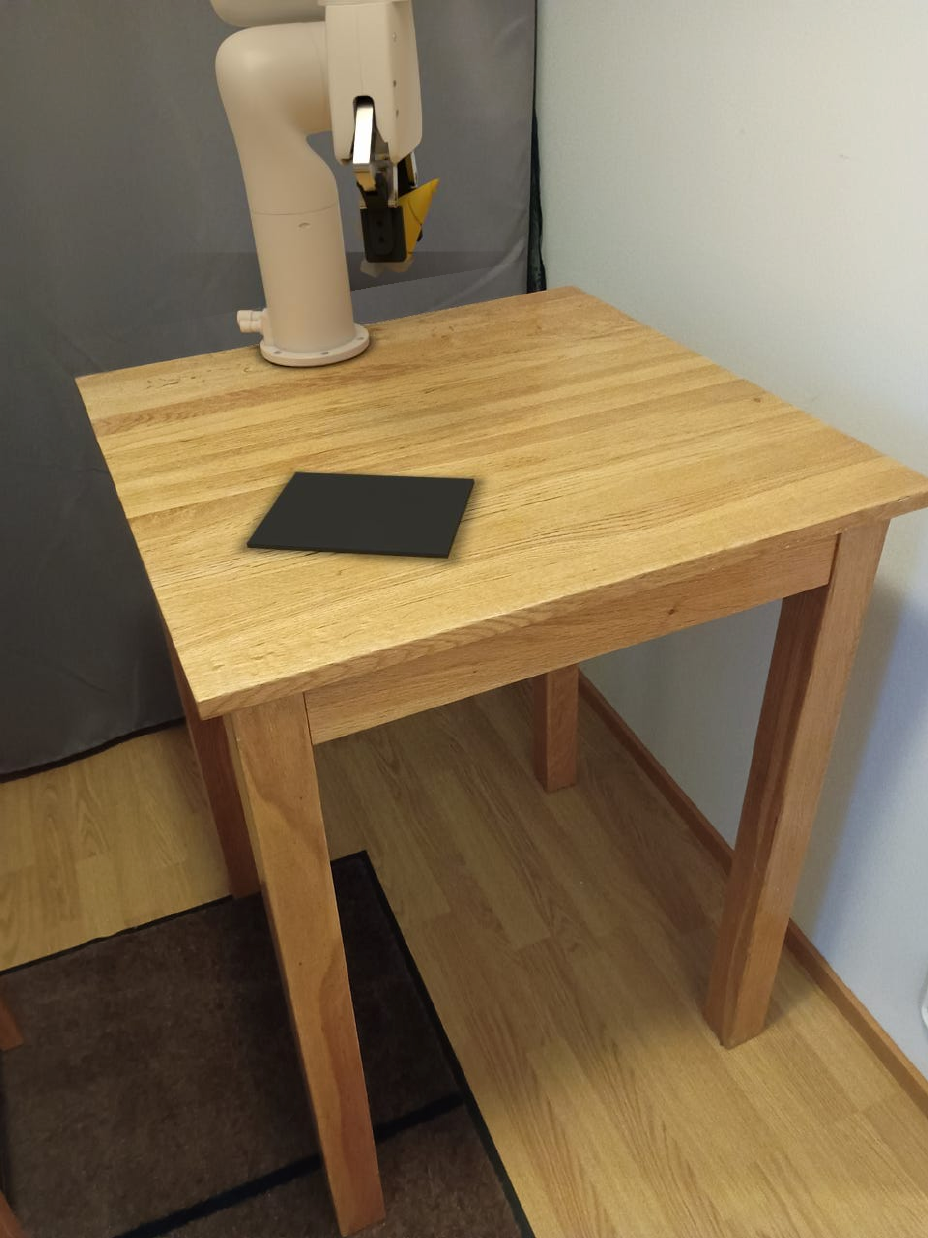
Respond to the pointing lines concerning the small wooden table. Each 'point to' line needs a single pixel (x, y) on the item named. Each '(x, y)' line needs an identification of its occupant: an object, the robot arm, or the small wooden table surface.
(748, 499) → the small wooden table surface
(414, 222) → the yellow cone
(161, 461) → the small wooden table surface
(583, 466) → the small wooden table surface
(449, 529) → the mat
